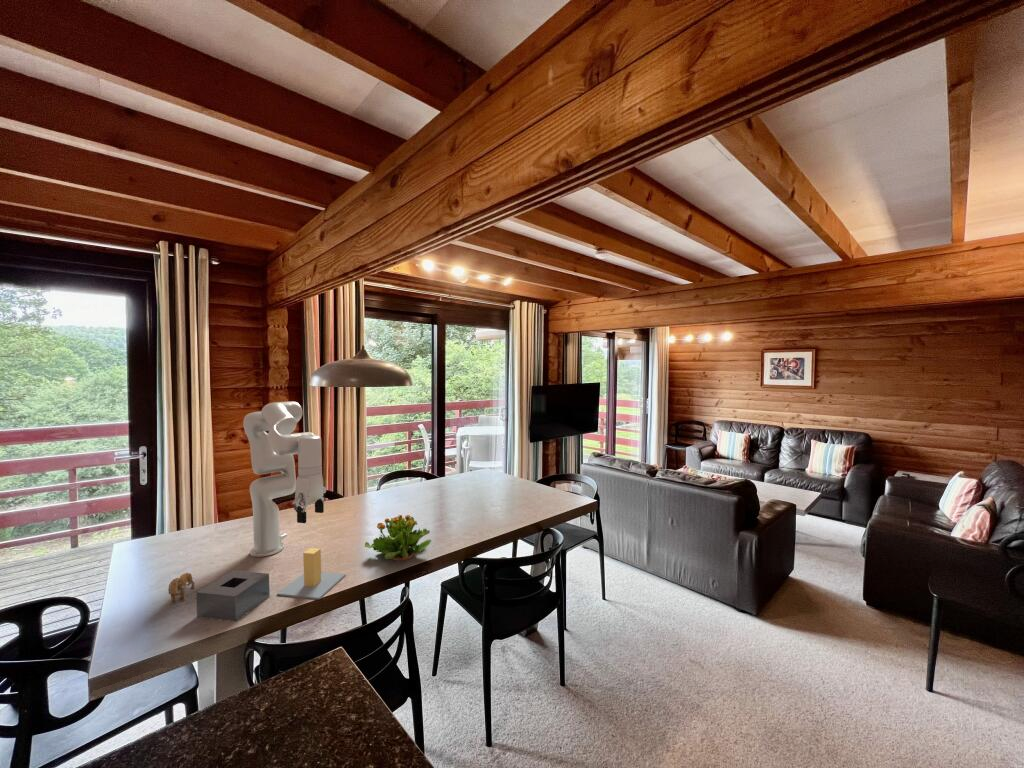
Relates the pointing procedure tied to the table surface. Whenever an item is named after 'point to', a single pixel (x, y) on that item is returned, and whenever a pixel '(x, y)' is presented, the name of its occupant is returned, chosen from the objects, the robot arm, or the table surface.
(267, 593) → the hole block
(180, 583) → the brown animal figure
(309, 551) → the peg
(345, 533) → the table surface
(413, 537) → the potted flower
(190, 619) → the table surface
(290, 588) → the mat
